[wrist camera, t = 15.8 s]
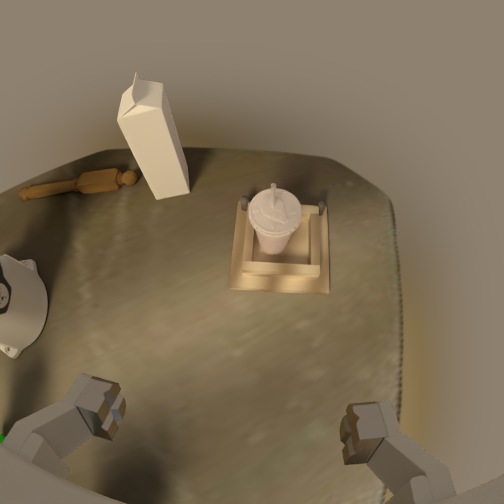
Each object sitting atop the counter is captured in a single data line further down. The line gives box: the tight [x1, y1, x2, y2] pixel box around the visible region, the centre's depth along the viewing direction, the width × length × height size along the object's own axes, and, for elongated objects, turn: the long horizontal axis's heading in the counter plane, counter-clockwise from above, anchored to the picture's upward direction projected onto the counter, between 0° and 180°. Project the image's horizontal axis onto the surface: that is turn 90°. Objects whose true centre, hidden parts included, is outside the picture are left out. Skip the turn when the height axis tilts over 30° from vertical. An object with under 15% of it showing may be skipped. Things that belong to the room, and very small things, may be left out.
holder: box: [229, 196, 329, 294], centre depth 43 cm, size 14×14×4 cm
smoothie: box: [249, 183, 302, 256], centre depth 38 cm, size 6×6×14 cm
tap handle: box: [19, 168, 137, 201], centre depth 50 cm, size 3×3×30 cm
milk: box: [117, 72, 190, 200], centre depth 40 cm, size 6×6×22 cm
